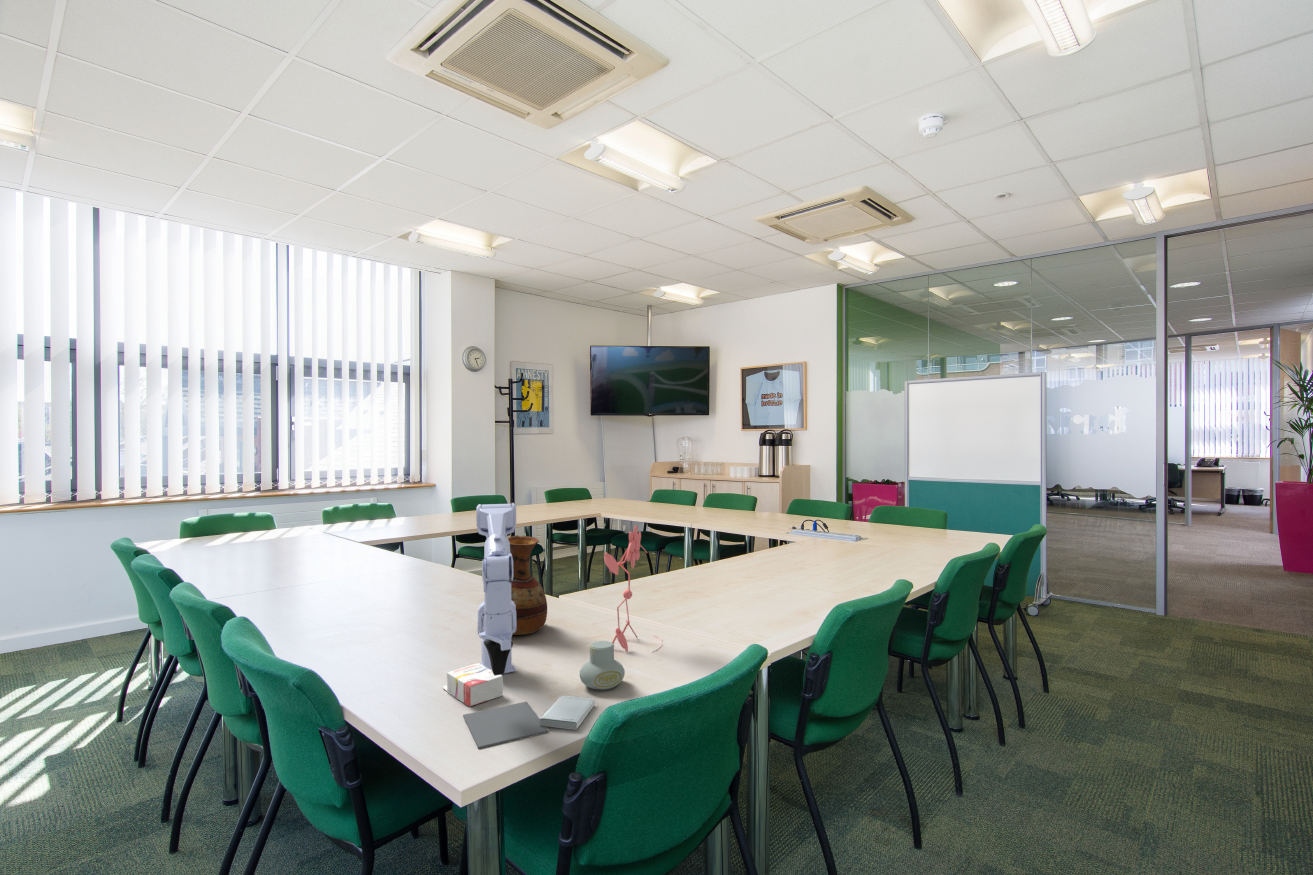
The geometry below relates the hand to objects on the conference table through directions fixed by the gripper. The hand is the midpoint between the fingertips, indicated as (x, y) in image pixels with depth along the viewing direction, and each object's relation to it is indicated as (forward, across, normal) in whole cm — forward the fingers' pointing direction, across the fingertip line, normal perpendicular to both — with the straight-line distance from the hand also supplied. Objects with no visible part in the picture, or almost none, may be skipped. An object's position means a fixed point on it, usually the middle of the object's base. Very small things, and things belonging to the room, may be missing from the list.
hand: (498, 673), depth 132 cm
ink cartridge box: (+6, -8, -1) cm, 10 cm away
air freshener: (+9, -4, +26) cm, 28 cm away
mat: (+9, +5, 0) cm, 10 cm away
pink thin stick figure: (+9, -26, +46) cm, 54 cm away
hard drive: (+9, +8, +13) cm, 18 cm away
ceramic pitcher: (+9, -58, +19) cm, 62 cm away
